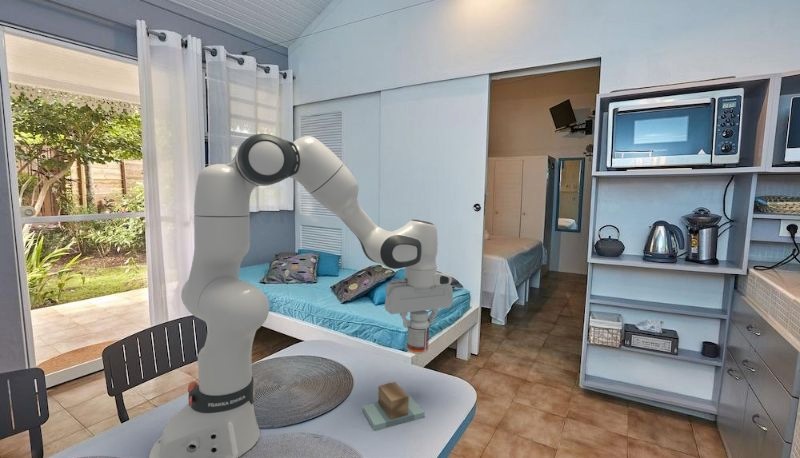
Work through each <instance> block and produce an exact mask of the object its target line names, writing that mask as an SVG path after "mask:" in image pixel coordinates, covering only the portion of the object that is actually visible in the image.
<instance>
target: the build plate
mask: <svg viewBox="0 0 800 458" xmlns="http://www.w3.org/2000/svg"><path fill="white" fill-rule="evenodd" d="M407 395H408V396H409V406H408V415H405V416H402V417H398V418H395V419H390V418H389V417H388V415H387V414H386V413H385V411H384V410H383V409H382V407H381V406H380V405H379V403H378V402H377V401H376V402H373V403H369V404H365V405H362V412H363V414H364V415H365V417H366V419H367V420H368V422H369V424H370V425H371V427H372V429H373V431H378V430H382V429H386V428H390V427H392V426H396V425H400V424H403V423H408V422H411V421H415V420H419V419H423V418H425V411H424V410H423V409H422V407H420V405H419V404H418V403H417V402H416V401H415V400H414V398H413V397H412V396H411V395H410V394H407Z"/></svg>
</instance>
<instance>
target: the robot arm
mask: <svg viewBox="0 0 800 458" xmlns="http://www.w3.org/2000/svg"><path fill="white" fill-rule="evenodd" d="M288 178H291V179H293V180H295V181H296V182H297V183H299V184H300V185H301V186H302V187H303V188H304V189H305V190H306V192H308V193H309V194H310V196H312V197H313V198H314V199H315V200H316V202H318V203H319V204H320V205H321V206H323V207H324V208H325V209H327V210H328V211H330V212H331V213H332V214H334V215H335V216H337V217H338V218H339V219H340V220H341V221H342V222H343V223H344V224H345V225H346V227H348V228H349V230H350V231H351V232H352V233H353V234H354V235H355V236H356V238H357V239H358V241H359V243H360V246H361V249H362V252H363V253H364V256H365V257H366V258H367V259H368V260H370V261H371V262H373V263H377V264H379V265H382V266H384V267H386V268H388V269H393V270H399V269H403V268H404V278H398V279H395V278H393V279H391V280H390V281H388V282H387V283H386V286H385V293H386V294H385V300H384V309H385V311H387V313H389V314H390V315H394V314H395V315H396V314H399V316H400V317H401V319H402V323H403V324H402V326H403V327H404V328H407V329H408V327H410V324H411V321H409V320H410V319H407V317H408V313H410V312H415V311H424V310H425V311H431V312H430V313H429V315H428V319H427V320H428V321H429V325H434V324H435V318H436V316H437V315H438V313H439V309H447V308H451V307H452V305H453V300H454V299H453V298H454V291H453V290H454V289H453V286H452V285H451V284H452V281H453V277H452V276H450V275H448V274H446V273H443V272H441V271H437V269H438V268H437V263H436V258H437V256H438V231H437V227H436V225H435V224H433V223H432V222H429V221H424V220H419V219H410V220H409V221H408V222H407V223H406V224H404V225H403V226H401V227H400V228H397V229H396V230H393V231H391V230H388V229H385V228H383V227H380V226H378V225H377V224H376V223H375V222H374V221H373V219H371V217H370V216H369V215H368V214H367V212H366V211H364V209H363V208H362V206H361V205H360V203H359V201H358V195H359V190H360V189H359V183H358V182H357V180H356V178H355V177H354V175H353V173H352V172H351V170H349V168H348V167H347V166H346V165H345V164H344V162H343V161H342V160H341V159H340V158H339V157H338V156H337V154H335V152H333V151H332V150H331V149H330V148H329V147H328V146H326V144H324V143H323V142H321V141H320V140H319V139H317V138H316V137H314V136H312V135H311V136H310V135H305V136H301V137H299V138H297V139H295V140H294V141H289V140H287V139H284V138H281V137H278V136H277V135H276V136H275V135H274V134H268V133H257V134H253V135H251V136H249V137H247V138H246V139H244V141H243V142H241V144H240V145H239V146H238V148H237V150H236V154H234V157H233V159H232V160H231V162H229V163H224V164H223V163H216V164H215V163H214V164H211V165H208V166H206V167H204V168H202V169H201V170H200V171H199V173H198V176H197V180H196V181H197V182H196V187H195V193H194V203H193V204H194V205H193V206H194V207H193V216H194V217H193V223H194V227H193V228H194V232H193V234H194V241H193V242H194V244H193V245H194V249H193V257H192V263H191V268H190V270H189V276H188V279H187V280H186V282H185V283H184V284H183V287H182V289H181V293H180V297H181V300H182V304H183V305H184V307H185V308H186V309H187V310H188V312H189V313H190V314H191V315H192V316H194V317H195V318H198V319H199V320H201V321H203V322H204V323H205V324H206V327H207V329H206V330H207V333H206V339H205V343H204V346H203V347H202V348H200V350H199V352H198V353H197V354H198V355H197V371H198V373H197V375H198V377H197V378H198V382H196V381H191V382H190V383H189V384H188V386H187V392H188V403H187V404H186V405H185V406H183V407H182V408H181V409H179V410H178V411H177V412H176V413H174V414H173V415H172V416H171V417H170V418H169V419H168V420H167V422H166V423H165V426H164V428H163V431H162V434H161V436H160V437H159V438H158V439H157V440H156V441H155V442H154V444H153V445H152V447H151V449H150V452H149V455H148V458H238V457H239V458H240V457H241V456H242V455H244V454H245V453H247V452H248V451H250V449H252V448H253V447H254V446H255V445H256V443H257V442H258V441H259V439H260V437H261V430H260V428H259V425H258V421H257V418H256V413H255V407H254V406H255V405H254V402H255V382H254V381H255V380H254V376H253V375H252V368H253V367H252V354H253V353H252V350H253V343H254V339H255V336H256V332H257V330H258V329H260V328H261V327H262V326H263V325H264V324H265V322H266V320H267V319H268V316H269V313H270V301H269V299H268V297H267V296H268V295H266V294H265V293H264V292H263V291H262V290H261V289H260V288H258V287H257V286H255V284H253V283H251V282H248V281H245V280H242V279H240V277H239V273H240V268H241V264H242V261H243V259H244V257H245V256H246V255H247V254H248V252H249V251H250V247H251V239H250V238H251V228H250V227H251V224H250V218H251V217H250V215H251V214H250V211H251V210H250V200H251V196H252V192H253V190H254V189H255V188H257V187H267V186H271V185H274V184H275V185H276V184H277V183H280V182H282V181H284V180H286V179H288Z"/></svg>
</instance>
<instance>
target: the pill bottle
mask: <svg viewBox="0 0 800 458" xmlns="http://www.w3.org/2000/svg"><path fill="white" fill-rule="evenodd" d="M428 317H429V311H428V310H424V311H415V312H409V319H408V320H409V321H411V324H410V327H407V337H406V349H407V351H408V352H409V353H411V354H413V355H423V354H426V353H427V352H428V350H429V345H430V344H429V343H430V324H429V321H428V320H427V319H428Z"/></svg>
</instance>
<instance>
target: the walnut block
mask: <svg viewBox="0 0 800 458" xmlns="http://www.w3.org/2000/svg"><path fill="white" fill-rule="evenodd" d="M377 394H378V396H377V397H378V403H379V405H380V406H381V407H382V409H383V410H384V411H385V413H386V414H387V415H388V417H389V418H390V419H395V418H398V417H402V416H405V415H408V406H409V396H408V395H409V394H407V392H405V391H404V390H403V388H402V387H400V385H399V384H398V383H397V382H396V381H392V382H389V383H385V384H381V385H380V384H379V385H378V393H377Z"/></svg>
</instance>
